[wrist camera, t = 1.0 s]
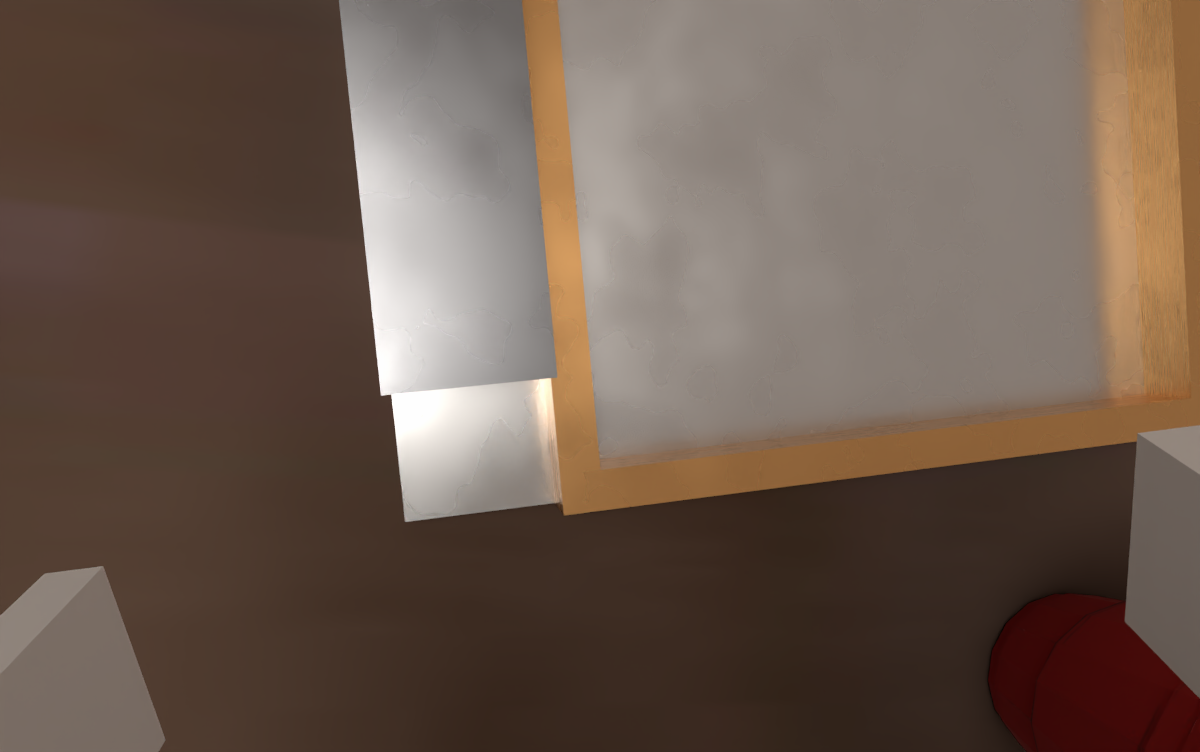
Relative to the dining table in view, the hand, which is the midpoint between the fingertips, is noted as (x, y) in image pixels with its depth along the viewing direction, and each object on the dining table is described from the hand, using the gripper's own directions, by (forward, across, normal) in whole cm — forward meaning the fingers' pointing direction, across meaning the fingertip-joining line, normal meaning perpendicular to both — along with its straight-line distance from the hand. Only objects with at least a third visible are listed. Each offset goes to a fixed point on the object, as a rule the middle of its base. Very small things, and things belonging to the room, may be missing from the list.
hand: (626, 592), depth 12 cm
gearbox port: (+21, -7, -3) cm, 22 cm away
